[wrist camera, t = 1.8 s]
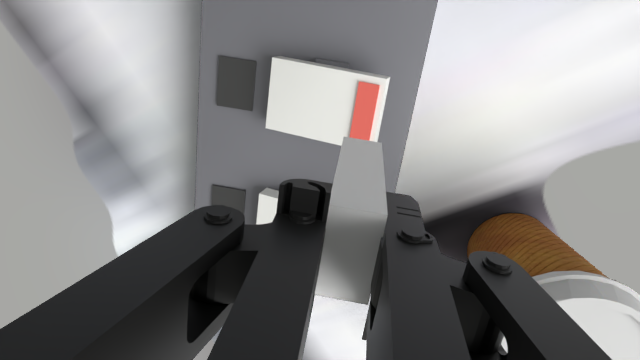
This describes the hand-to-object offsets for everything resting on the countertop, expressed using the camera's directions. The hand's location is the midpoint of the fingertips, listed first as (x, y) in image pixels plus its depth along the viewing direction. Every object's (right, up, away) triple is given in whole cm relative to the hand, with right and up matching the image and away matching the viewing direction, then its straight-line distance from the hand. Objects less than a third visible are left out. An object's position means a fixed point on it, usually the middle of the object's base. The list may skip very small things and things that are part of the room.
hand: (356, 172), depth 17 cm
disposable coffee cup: (+13, -6, +17) cm, 22 cm away
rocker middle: (-1, +4, +9) cm, 10 cm away
